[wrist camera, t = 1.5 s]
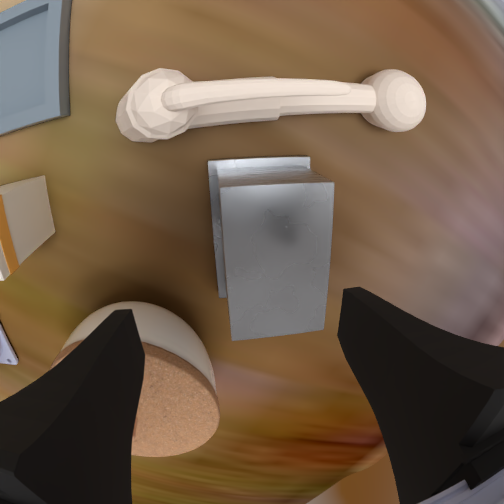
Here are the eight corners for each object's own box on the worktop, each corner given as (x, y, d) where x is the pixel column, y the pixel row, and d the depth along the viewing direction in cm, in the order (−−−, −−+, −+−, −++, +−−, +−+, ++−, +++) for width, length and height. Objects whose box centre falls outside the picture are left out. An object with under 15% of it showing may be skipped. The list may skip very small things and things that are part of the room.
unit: (218, 291, 22) (223, 348, 16) (208, 159, 18) (207, 177, 13) (303, 283, 22) (330, 335, 17) (306, 155, 19) (344, 171, 13)
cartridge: (13, 238, 18) (-40, 283, 12) (1, 184, 16) (-61, 215, 10) (56, 232, 18) (4, 281, 12) (45, 174, 17) (-17, 203, 10)
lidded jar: (201, 264, 21) (199, 363, 12) (224, 377, 25) (234, 472, 17) (61, 283, 20) (4, 369, 11) (108, 386, 24) (88, 472, 16)
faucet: (354, 126, 23) (462, 139, 15) (120, 153, 16) (137, 168, 8) (351, 78, 21) (460, 75, 13) (112, 87, 15) (123, 33, 6)
